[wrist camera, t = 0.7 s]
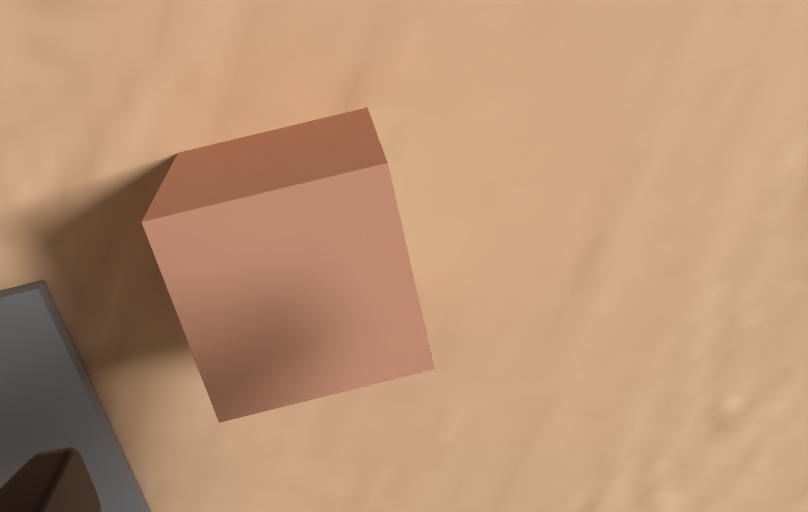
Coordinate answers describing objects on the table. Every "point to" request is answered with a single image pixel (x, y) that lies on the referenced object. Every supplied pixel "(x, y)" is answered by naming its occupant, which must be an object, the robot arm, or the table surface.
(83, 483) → the robot arm
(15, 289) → the gray mat
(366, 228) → the terracotta cube
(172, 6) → the table surface
